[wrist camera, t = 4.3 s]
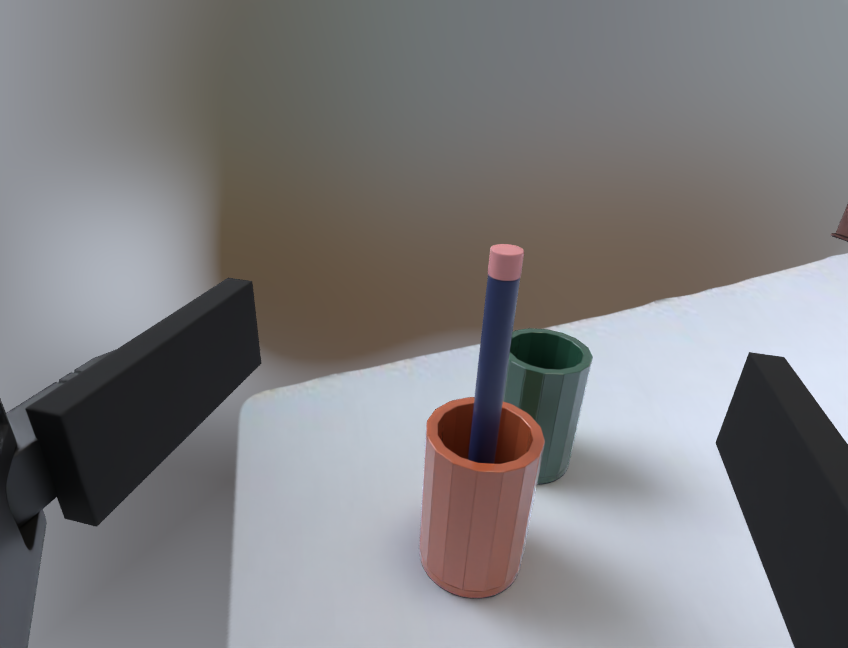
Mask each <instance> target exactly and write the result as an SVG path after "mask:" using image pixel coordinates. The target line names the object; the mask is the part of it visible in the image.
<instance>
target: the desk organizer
mask: <svg viewBox="0 0 848 648" xmlns="http://www.w3.org/2000/svg"><path fill="white" fill-rule="evenodd" d="M831 236H833V237H836V238H839V239H842V240H845V241H847V242H848V204H847V207H846V210H845V212H844V214H843V217H842V219H841V221H840V224H839V226H838V229H837V231H836V233H832V234H831Z"/></svg>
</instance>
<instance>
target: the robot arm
mask: <svg viewBox="0 0 848 648" xmlns="http://www.w3.org/2000/svg"><path fill="white" fill-rule="evenodd" d="M260 364H261V357H260V348H259V339H258V330H257V321H256V311H255V302H254V293H253V284H252V281H247V280H240V279H233V278H227V279H225V280H224V281H222V282H221V283H219V284H218V285H217V286H215V287H213V288H211V289H210V290H208V291H207V292H205V293H204V294H202V295H201V296H199V297H197V298H196V299H194V300H193V301H191V302H190V303H188V304H187V305H185V306H184V307H182V308H181V309H179V310H177V311H176V312H174V313H173V314H171V315H169V316H168V317H167V318H165V319H163V320H162V321H160V322H159V323H157V324H156V325H154V326H152V327H151V328H149V329H148V330H146V331H145V332H143V333H142V334H140V335H138V336H137V337H135V338H134V339H132V340H131V341H129V342H127V343H126V344H124V345H123V346H121V347H120V348H118V349H117V350H114V351H111V352H108V353H106V354H103V355H101V356H98V357H95V358H93V359H91V360H90V361H88V362H87V363H85V364H83V365H82V366H80V367H79V368H77V369H75V371H74V373H69V374H67V375H66V376H64V377H63V378H61V379H60V380H59V382H58V383H57V382H55V383H53V384H52V385H50V386H48V387H47V388H45V389H44V390H42V391H40V392H39V393H38V394H36V395H34V396H32V397H31V398H29V399H28V400H26V401H25V402H23V403H21V404H20V405H18V406H17V407H15V408H14V409H12V410H10V411H9V412H7V413H6V412H5V410H4V407H3V404H2V402H1V399H0V648H28V641H29V634H30V628H31V621H32V615H33V608H34V601H35V595H36V588H37V582H38V575H39V569H40V561H41V556H42V548H43V542H44V536H45V529H46V518H45V514H44V512H43V508H44V507H45V506H47V505H48V504H49V503H50V502H51V501H52V500H54V499H55V498H56V497H57V498H58V501H59V504H60V507H61V509H62V512H63V515H64V518H65V519H69V520H73V521H77V522H81V523H84V524H88V525H93V526H98V525H99V524H100V523H101V522H102V521H103V520H104V519H105V518H106V517H107V516H108V515H109V514H110V513H111V512H112V511H113V510H114V509H115V508H116V507H117V506H118V505H119V504H120V503H121V502H122V501H123V500H124V499H125V498H126V497H127V496H128V495H129V494H130V493H131V492H132V491H133V490H134V489H135V488H136V487H137V486H138V485H139V484H140V483H141V482H142V481H143V480H144V479H145V478H146V477H147V476H148V475H149V474H150V473H151V472H152V471H153V470H154V469H155V468H156V467H157V466H158V465H159V464H160V463H161V462H162V461H163V460H164V459H165V458H166V457H167V456H168V455H169V454H170V453H171V452H172V451H173V450H175V448H177V446H179V444H180V443H182V442H183V441H184V440H185V439H186V437H188V436H189V435H190V434H191V433H192V432H193V431H194V430H195V429H196V428H197V427H198V426H199V425H200V424H201V423H202V422H203V421H204V420H205V419H206V418H207V417H208V416H209V415H210V414H211V413H212V412H213V411H214V410H215V409H216V408H217V407H218V406H219V405H220V404H221V403H222V402H223V401H224V400H225V399H226V398H227V397H228V396H229V395H230V394H231V393H232V392H233V391H234V390H235V389H236V388H237V387H238V386H239V385H240V384H241V383H242V382H243V381H244V380H245V379H246V378H247V377H248V376H249V375H250V374H251V373H252V372H253V371H254V370H255V369H256V368H257V367H258V366H259V365H260ZM716 445H717V448H718V450H719V453H720V455H721V458H722V461H723V463H724V466H725V468H726V471H727V474H728V476H729V479H730V481H731V484H732V487H733V489H734V492H735V494H736V497H737V500H738V502H739V505H740V507H741V510H742V512H743V515H744V518H745V520H746V523H747V525H748V528H749V531H750V533H751V536H752V538H753V541H754V544H755V546H756V549H757V551H758V554H759V557H760V559H761V562H762V564H763V567H764V569H765V572H766V575H767V577H768V580H769V582H770V585H771V588H772V590H773V593H774V595H775V598H776V601H777V603H778V606H779V608H780V611H781V614H782V616H783V619H784V621H785V624H786V626H787V629H788V632H789V634H790V637H791V639H792V642H793V645H794V647H795V648H848V444H847V443H846V441H845V440H844V439H843V437H842V436H841V435H840V433H839V432H838V430H837V429H836V428H835V426H834V425H833V424H832V422H831V421H830V419H829V418H828V417H827V415H826V414H825V413H824V411H823V410H822V408H821V407H820V406H819V404H818V403H817V402H816V400H815V399H814V397H813V396H812V395H811V393H810V392H809V391H808V389H807V388H806V386H805V385H804V384H803V382H802V381H801V380H800V378H799V377H798V375H797V374H796V373H795V371H794V370H793V369H792V367H791V366H790V364H789V363H788V362H787V360H786V359H785V358H784V357H779V356H772V355H765V354H758V353H751V352H749V354H748V357H747V360H746V362H745V365H744V368H743V370H742V373H741V376H740V378H739V381H738V384H737V386H736V389H735V392H734V395H733V397H732V400H731V403H730V405H729V408H728V411H727V413H726V416H725V419H724V422H723V424H722V427H721V430H720V432H719V435H718V438H717V440H716Z"/></svg>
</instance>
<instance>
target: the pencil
mask: <svg viewBox="0 0 848 648" xmlns="http://www.w3.org/2000/svg"><path fill="white" fill-rule="evenodd" d="M523 256H524V250H523V249H522V248H520V247H518V246H515V245H510V244H498V245H494V246H492V247H491V249H490V257H489V267H488V281H487V289H486V299H485V307H484V308H485V309H484V317H483V326H482V336H481V344H480V353H479V362H478V372H477V381H476V390H475V399H474V408H473V417H472V427H471V436H470V445H469V454H468V460H471V461H474V462H477V463H490V464H494V462H495V454H496V447H497V440H498V433H499V425H500V418H501V411H502V404H503V397H504V389H505V382H506V375H507V368H508V361H509V353H510V346H511V339H512V332H513V324H514V317H515V310H516V302H517V296H518V288H519V281H520V276H521V270H522V263H523Z"/></svg>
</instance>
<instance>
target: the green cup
mask: <svg viewBox="0 0 848 648" xmlns="http://www.w3.org/2000/svg"><path fill="white" fill-rule="evenodd" d="M592 358H593V357H592V354H591V353H590V351H589V349H588V347H587V346H585V345H584V344H583V343H581V342H580V341H579V340H577V339H576V338H573V337H571V336H569V335H566V334H564V333H561V332H556V331H552V330H547V329H522V330H515V331H514V332H512V339H511V346H510V353H509V361H508V368H507V375H506V382H505V389H504V397H503V402H507V403H510V404H512V405H514V406H516V407H518V408H520V409H521V410H523V411H525V412H527V413H528V414H529V415H530V416H531V417H532V418H533V419H534V420H535V421H536V422H537V423H538V424H539V426H540V427H541V430H542V433H543V437H544V440H545V445H544V450H543V455H542V460H541V466H540V471H539V476H538V481H537V484H544V483H549V482H552V481H555V480H557V479H559V478H560V477H562V476H563V475H564V474H565V472H566V471H567V468H568V465H569V461H570V457H571V453H572V448H573V444H574V439H575V435H576V430H577V426H578V421H579V417H580V412H581V408H582V403H583V399H584V394H585V390H586V385H587V381H588V376H589V372H590V367H591V363H592Z"/></svg>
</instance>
